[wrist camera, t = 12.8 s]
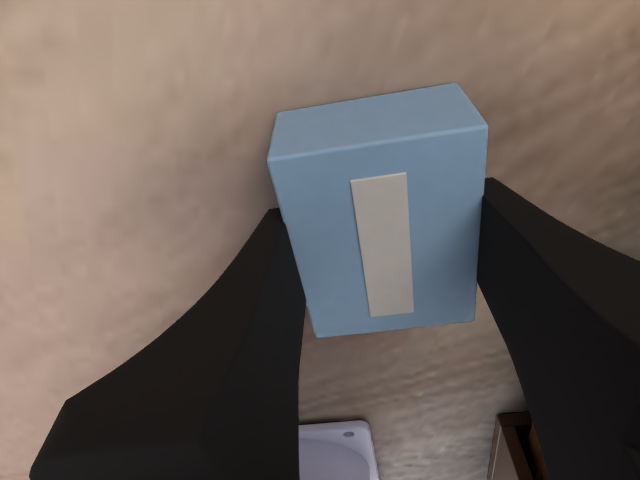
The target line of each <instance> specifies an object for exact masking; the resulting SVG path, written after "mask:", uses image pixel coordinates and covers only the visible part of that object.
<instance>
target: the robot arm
mask: <svg viewBox="0 0 640 480" xmlns="http://www.w3.org/2000/svg"><path fill="white" fill-rule="evenodd" d="M476 280H477V282H478V284H479V287H480V289H481V291H482V293H483V295H484V298H485V300H486V302H487V304H488V306H489V308H490V311H491V313H492V315H493V317H494V319H495V321H496V324H497V326H498V328H499V330H500V332H501V334H502V337H503V339H504V341H505V343H506V345H507V348H508V350H509V353H510V355H511V358H512V360H513V363H514V366H515V369H516V372H517V375H518V378H519V381H520V384H521V387H522V390H523V393H524V396H525V399H526V403H527V406H528V409H529V412H530V415H531V418H532V422H533V425H534V428H535V431H536V434H537V438H538V441H539V445H540V448H541V452H542V455H543V458H544V462H545V465H546V469H547V472H548V476H549V479H550V480H640V261H638V260H636V259H633V258H631V257H629V256H627V255H624V254H622V253H620V252H618V251H616V250H614V249H611V248H609V247H607V246H605V245H603V244H601V243H599V242H597V241H595V240H593V239H591V238H589V237H587V236H585V235H584V234H582V233H580V232H578V231H576V230H574V229H573V228H571V227H569V226H567V225H565V224H564V223H562V222H560V221H559V220H557V219H555V218H554V217H552V216H550V215H549V214H547V213H546V212H544V211H543V210H541V209H539V208H538V207H536V206H535V205H533V204H532V203H530V202H529V201H527V200H526V199H524V198H523V197H521V196H520V195H518V194H517V193H515V192H514V191H512V190H511V189H509V188H508V187H506V186H505V185H503V184H502V183H500V182H499V181H497V180H496V179H494V178H492V177H491V178H485V183H484V195H483V196H482V207H481V221H480V235H479V249H478V263H477V277H476ZM305 308H306V297H305V293H304V289H303V286H302V282H301V278H300V275H299V271H298V268H297V264H296V260H295V257H294V253H293V249H292V246H291V242H290V239H289V235H288V231H287V228H286V224H285V223H284V222H283V219H282V215H281V211H280V208H273V209H269V210H268V211H267V213H266V214H265V216H264V217H263V218H262V220H261V221H260V223H259V224H258V226H257V227H256V229H255V230H254V232H253V233H252V235H251V236H250V238H249V239H248V241H247V242H246V243H245V245H244V246H243V248H242V249H241V250H240V252H239V253H238V255H237V256H236V257H235V259H234V260H233V261H232V263H231V264H230V265H229V266H228V268H227V269H226V270H225V271H224V273H223V274H222V275H221V276H220V277H219V279H218V280H217V281H216V282H215V284H214V285H213V286H212V287H211V288H210V289H209V290H208V291H207V292H206V293H205V294H204V295H203V296H202V297H201V298H200V299H199V300H198V302H197V303H196V304H195V305H194V306H193V307H192V308H191V309H189V310H188V311H187V312H186V313H185V314H184V315H183V316H182V317H181V318H179V319H178V320H177V321H176V322H175V323H174V324H173V325H171V326H170V327H169V328H168V329H167V330H166V331H165V332H163V333H162V334H161V335H160V336H159V337H158V338H156V339H155V340H154V341H153V342H151V343H150V344H149V345H147V346H146V347H145V348H144V349H142V350H141V351H140V352H138V353H137V354H136V355H134V356H133V357H131V358H130V359H129V360H127V361H126V362H125V363H123V364H122V365H120V366H119V367H117V368H116V369H115V370H113V371H112V372H110V373H109V374H107V375H106V376H104V377H102V378H101V379H99V380H98V381H96V382H95V383H93V384H91V385H90V386H88V387H87V388H85V389H84V390H82V391H81V392H79V393H77V394H76V395H74V396H72V397H71V398H69V399H67V400H66V401H65V403H64V405H63V407H62V408H61V410H60V412H59V414H58V416H57V418H56V420H55V422H54V424H53V426H52V428H51V430H50V432H49V434H48V436H47V438H46V440H45V442H44V444H43V446H42V447H41V449H40V451H39V453H38V455H37V457H36V459H35V461H34V463H33V465H32V467H31V470H30V474H29V478H30V480H380V476H379V471H378V466H377V461H376V456H375V451H374V446H373V441H372V436H371V431H370V426H369V424H368V423H367V422H365V421H362V420H356V421H344V422H333V423H321V424H309V425H299V417H298V390H299V365H300V356H301V346H302V337H303V327H304V318H305Z"/></svg>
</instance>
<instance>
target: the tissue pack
mask: <svg viewBox="0 0 640 480" xmlns="http://www.w3.org/2000/svg"><path fill="white" fill-rule="evenodd" d="M488 128H489V127H488V124H487V123H486V121H485V120H484V119H483V117H482V116H481V115H480V113H479V112H478V110H477V109H476V108H475V106H474V105H473V103H472V102H471V101H470V99H469V98H468V97H467V95H466V94H465V92H464V91H463V90H462V88H461V87H460V86H459V84H458V83H450V84H444V85H438V86H432V87H426V88H420V89H414V90H408V91H402V92H396V93H390V94H384V95H378V96H373V97H367V98H361V99H355V100H349V101H343V102H337V103H331V104H325V105H319V106H313V107H307V108H301V109H295V110H289V111H283V112H278V113H277V114H276V118H275V123H274V128H273V132H272V137H271V142H270V147H269V151H268V156H267V165H268V168H269V172H270V176H271V179H272V183H273V186H274V190H275V194H276V197H277V201H278V204H279V208H280V211H281V215H282V219H283V222H284V223H285V224H286V228H287V231H288V235H289V239H290V242H291V246H292V249H293V253H294V257H295V260H296V264H297V268H298V271H299V275H300V278H301V282H302V286H303V289H304V293H305V297H306V305H307V308H308V312H309V316H310V319H311V323H312V326H313V330H314V333H315V336H316V338H324V337H334V336H343V335H352V334H361V333H371V332H380V331H389V330H399V329H408V328H417V327H426V326H436V325H445V324H454V323H464V322H472V321H474V318H475V305H476V292H477V280H476V277H477V263H478V249H479V235H480V221H481V207H482V196H483V195H484V183H485V169H486V155H487V142H488Z"/></svg>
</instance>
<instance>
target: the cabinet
mask: <svg viewBox="0 0 640 480" xmlns="http://www.w3.org/2000/svg"><path fill="white" fill-rule="evenodd" d="M531 426H532V418H531V415H530V412H523V413H511V414H499V415H497V418H496V425H495V431H494V438H493V445H492V451H491V458H490V464H489V471H488V477H487V480H534V479H533V476H532V474H531V471H530V468H529V465H528V463H527V460H526V457H525V450H526V446H527V442H528V438H529V434H530V430H531Z"/></svg>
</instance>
